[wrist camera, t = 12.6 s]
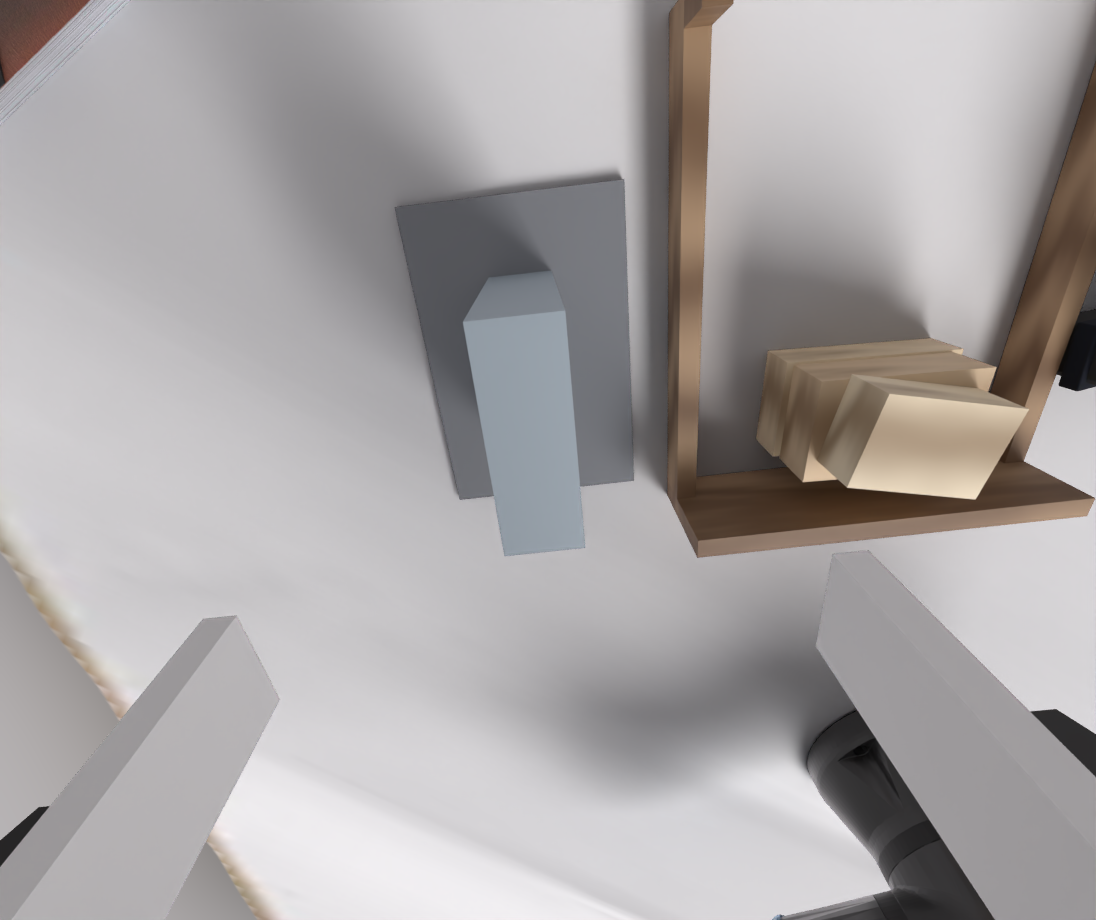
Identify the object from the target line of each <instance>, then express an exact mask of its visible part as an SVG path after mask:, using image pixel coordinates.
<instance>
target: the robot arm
mask: <svg viewBox="0 0 1096 920" xmlns="http://www.w3.org/2000/svg"><path fill="white" fill-rule="evenodd" d="M816 648H817V649H818V651H819V652H820V654H821V655H822V657H823V658H824V660H825V661H826V663H827V665H828V666H829V668H830V669H831V671H832V672H833V674H834V675H835V677H836V678H837V680H838V681H839V683H840V684H841V686H842V687H843V689H844V690H845V692H846V693H847V695H848V697H849V698H850V700H851V701H852V703H853V704H854V706H855V707H856V709H857V710H858V711H856V712H854V713H852V714H850V715H848V716H846V717H844V718H842V719H841V720H839V721H838V722H836V723H835V724H833V725H832V726H831V727H829V728H828V729H827V730H826V731H825V732H824V733H823V734H822V735H821V736H820V737H819V738H818V739H817V740H816V742H815V743H814V745H813V746H812V748H811V750H810V752H809V755H808V760H807V766H808V771H809V773H810V775H811V777H812V779H813V781H814V783H815V785H816V787H817V789H818V791H819V793H820V795H821V796H822V798H823V799H824V801H825V802H826V803H827V804H828V805H829V806H830V808H831V809H832V810H833V811H834V812H835V813H836V815H837V816H838V817H839V818H840V819H841V820H842V821H843V823H844V824H845V825H846V826H847V827H848V828H849V829H850V831H851V832H852V833H853V834H854V835H855V836H856V838H857V839H858V840H859V841H860V842H861V843H862V844H863V846H864V847H865V848H866V849H867V850H868V851H869V852H870V854H871V855H872V856H873V858H874V859H875V861H876V862H877V864H878V866H879V868H880V870H881V872H882V874H883V875H884V877H885V879H886V881H887V883H888V885H889V887H890V889H891V890H890V891H887V892H883V893H879V894H875V895H870V896H866V897H862V898H858V899H854V900H850V901H846V902H842V903H839V904H835V905H831V906H827V907H822V908H818V909H814V910H809V911H805V912H801V913H796V914H792V915H788V916H784V915H777V916H775V917H774V918H773V919H772V920H1096V734H1095V733H1093V732H1091V731H1090V730H1088V729H1087V728H1085V727H1083V726H1082V725H1080V724H1079V723H1077V722H1076V721H1074V720H1072V719H1071V718H1069V717H1068V716H1066V715H1064V714H1063V713H1061V712H1060V711H1058V710H1057V709H1053V710H1042V711H1032V712H1030V711H1029V710H1028V709H1027V708H1026V707H1025V706H1024V705H1023V704H1022V703H1021V702H1020V701H1019V700H1018V699H1017V698H1016V697H1015V696H1014V695H1013V694H1012V693H1011V692H1010V691H1009V690H1008V689H1007V688H1006V687H1005V686H1004V685H1003V684H1002V683H1001V682H1000V681H999V680H998V679H997V678H996V677H995V676H994V675H993V674H992V673H991V672H990V671H989V670H988V669H987V668H986V667H985V666H984V665H983V664H982V663H981V662H980V661H979V660H978V659H977V658H976V657H975V656H974V655H973V654H972V653H971V652H970V651H969V650H968V649H967V648H966V647H965V646H964V645H963V644H962V643H961V642H960V641H959V640H958V639H957V638H956V637H955V636H954V635H953V634H952V633H951V632H950V631H949V630H948V629H947V628H946V627H945V626H944V625H943V624H942V623H941V622H940V621H939V620H938V619H937V618H936V617H935V616H934V615H933V614H932V613H931V612H930V611H929V610H928V609H927V608H926V607H925V606H924V605H923V604H922V603H921V602H920V601H919V600H918V599H917V598H916V597H915V596H914V595H913V594H912V593H911V592H910V591H909V590H908V589H907V588H906V587H905V586H904V585H903V584H902V583H901V582H900V581H899V580H898V579H897V578H896V577H895V576H894V575H893V574H892V573H891V572H890V571H889V570H888V569H887V568H886V567H885V566H884V565H883V564H882V563H881V562H880V561H879V560H878V559H877V558H876V557H875V556H874V555H873V554H872V553H871V552H870V551H869V550H867V551H858V552H848V553H838V554H833V555H832V560H831V566H830V571H829V576H828V582H827V587H826V593H825V598H824V603H823V609H822V614H821V620H820V625H819V631H818V636H817V641H816ZM279 700H280V698H279V696H278V694H277V693H276V691H275V689H274V687H273V685H272V683H271V681H270V679H269V677H268V675H267V673H266V671H265V669H264V667H263V665H262V663H261V662H260V660H259V658H258V656H257V654H256V652H255V650H254V648H253V646H252V644H251V642H250V640H249V638H248V636H247V634H246V632H245V631H244V629H243V627H242V625H241V623H240V621H239V619H238V617H237V616H227V617H218V618H208V619H203V620H202V621H201V622H200V623H199V625H198V626H197V627H196V628H195V629H194V631H193V632H192V633H191V634H190V636H189V637H188V638H187V639H186V640H185V642H184V643H183V644H182V645H181V647H180V648H179V649H178V650H177V651H176V653H175V654H174V655H173V656H172V658H171V659H170V660H169V661H168V662H167V664H166V665H165V666H164V667H163V669H162V670H161V671H160V672H159V673H158V675H157V676H156V677H155V678H154V680H153V681H152V682H151V683H150V684H149V686H148V687H147V688H146V689H145V691H144V692H143V693H142V694H141V695H140V697H139V698H138V699H137V700H136V702H135V703H134V704H133V705H132V706H131V708H130V709H129V710H128V711H127V713H126V714H125V715H124V716H123V717H122V719H121V720H120V721H119V722H118V724H117V725H116V726H115V727H114V728H113V730H112V731H111V732H110V733H109V735H108V736H107V737H106V738H105V740H104V741H103V742H102V743H101V744H100V746H99V747H98V748H97V749H96V751H95V752H94V753H93V754H92V755H91V757H90V758H89V759H88V760H87V761H86V763H85V764H84V765H83V766H82V768H81V769H80V770H79V771H78V772H77V774H76V775H75V776H74V777H73V779H72V780H71V781H70V782H69V783H68V785H67V786H66V787H65V788H64V790H63V791H62V792H61V793H60V795H59V796H58V797H57V798H56V799H55V801H54V802H53V803H52V804H51V806H47V807H39V808H37V809H36V810H35V811H34V812H33V813H32V814H30V815H29V816H28V817H27V818H26V819H25V820H23V821H22V822H21V823H20V824H19V825H18V826H16V827H15V828H14V829H13V830H12V831H11V832H10V833H9V834H7V835H6V836H5V837H4V838H3V839H1V840H0V920H165V918H166V916H167V915H168V913H169V911H170V908H171V907H172V905H173V903H174V901H175V899H176V897H177V895H178V894H179V892H180V890H181V888H182V886H183V884H184V882H185V880H186V878H187V876H188V874H189V872H190V871H191V869H192V867H193V865H194V863H195V861H196V859H197V857H198V855H199V853H200V851H201V850H202V848H203V846H204V844H205V842H206V840H207V838H208V836H209V834H210V832H211V830H212V828H213V827H214V825H215V823H216V821H217V819H218V817H219V815H220V813H221V811H222V809H223V807H224V806H225V804H226V802H227V800H228V798H229V796H230V794H231V792H232V790H233V788H234V786H235V785H236V783H237V781H238V779H239V777H240V775H241V773H242V771H243V769H244V767H245V765H246V763H247V762H248V760H249V758H250V756H251V754H252V752H253V750H254V748H255V746H256V744H257V742H258V741H259V739H260V737H261V735H262V733H263V731H264V729H265V727H266V725H267V723H268V721H269V719H270V718H271V716H272V714H273V712H274V710H275V708H276V706H277V704H278V702H279Z"/></svg>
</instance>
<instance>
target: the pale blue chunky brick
mask: <svg viewBox="0 0 1096 920" xmlns="http://www.w3.org/2000/svg"><path fill="white" fill-rule="evenodd" d="M463 326H464V332H465V337H466V343H467V348H468V354H469V360H470V365H471V371H472V376H473V382H474V388H475V393H476V399H477V404H478V410H479V416H480V421H481V427H482V432H483V438H484V444H485V449H486V455H487V460H488V466H489V472H490V477H491V483H492V488H493V494H494V499H495V505H496V511H497V516H498V522H499V527H500V533H501V539H502V544H503V550H504V555H505V556H511V555H521V554H530V553H540V552H550V551H559V550H569V549H579V548H585V538H584V526H583V515H582V503H581V491H580V479H579V467H578V455H577V443H576V432H575V420H574V408H573V396H572V384H571V372H570V360H569V349H568V337H567V325H566V313H565V308H564V305H563V303H562V300H561V297H560V294H559V291H558V288H557V285H556V283H555V280H554V277H553V274H552V271H542V272H533V273H524V274H515V275H506V276H498V277H489V278H488V280H487V281H486V283H485V285H484V286H483V288H482V290H481V292H480V293H479V295H478V297H477V298H476V300H475V302H474V304H473V305H472V307H471V309H470V310H469V312H468V314H467V316H466V317H465V319H464V321H463Z"/></svg>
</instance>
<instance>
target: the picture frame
mask: <svg viewBox="0 0 1096 920" xmlns="http://www.w3.org/2000/svg"><path fill="white" fill-rule="evenodd" d="M129 1H130V0H0V125H1V124H2V123H3V122H4V121H5V120H6V119H7V118H8V117H10V116H11V115H12V114H13V113H14V112H15V111H16V110H17V109H18V108H19V107H20V106H21V105H22V104H23V103H24V102H25V101H26V100H27V99H28V98H29V97H30V96H31V95H32V94H33V93H34V92H36V91H37V90H38V89H39V88H40V87H41V86H42V85H43V84H44V83H45V82H46V81H47V80H48V79H49V78H50V77H51V76H52V75H53V74H54V73H55V72H56V71H57V70H58V69H59V68H60V67H62V66H63V65H64V64H65V63H66V62H67V61H68V60H69V59H70V58H71V57H72V56H73V55H74V54H75V53H76V52H77V51H78V50H79V49H80V48H81V47H82V46H83V45H84V44H85V43H86V42H88V41H89V40H90V39H91V38H92V37H93V36H94V35H95V34H96V33H97V32H98V31H99V30H100V29H101V28H102V27H103V26H104V25H105V24H106V23H107V22H108V21H109V20H110V19H111V18H112V17H114V16H115V15H116V14H117V13H118V12H119V11H120V10H121V9H122V8H123V7H124V6H125V5H126V4H127V3H128V2H129Z"/></svg>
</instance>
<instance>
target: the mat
mask: <svg viewBox="0 0 1096 920" xmlns="http://www.w3.org/2000/svg"><path fill="white" fill-rule="evenodd" d="M395 211H396V215H397V220H398V224H399V229H400V233H401V238H402V242H403V247H404V251H405V256H406V260H407V265H408V269H409V274H410V278H411V283H412V287H413V292H414V296H415V301H416V305H417V310H418V314H419V319H420V323H421V328H422V332H423V337H424V341H425V346H426V350H427V355H428V359H429V364H430V368H431V373H432V377H433V382H434V386H435V391H436V395H437V400H438V404H439V409H440V413H441V418H442V422H443V427H444V431H445V436H446V440H447V445H448V449H449V454H450V458H451V463H452V467H453V472H454V476H455V481H456V485H457V490H458V494H459V499H460V500H462V499H471V498H481V497H490V496H494V494H493V488H492V483H491V477H490V472H489V466H488V460H487V455H486V449H485V444H484V438H483V432H482V427H481V421H480V416H479V410H478V404H477V399H476V393H475V388H474V382H473V376H472V371H471V365H470V360H469V354H468V348H467V343H466V337H465V332H464V326H463V321H464V319H465V317H466V316H467V314H468V312H469V310H470V309H471V307H472V305H473V304H474V302H475V300H476V298H477V297H478V295H479V293H480V292H481V290H482V288H483V286H484V285H485V283H486V281H487V280H488V278H489V277H498V276H506V275H515V274H524V273H533V272H542V271H552V274H553V277H554V280H555V283H556V285H557V288H558V291H559V294H560V297H561V300H562V303H563V305H564V308H565V313H566V325H567V337H568V349H569V360H570V372H571V384H572V396H573V408H574V420H575V432H576V443H577V455H578V467H579V479H580V486H590V485H599V484H608V483H617V482H626V481H634V470H633V439H632V407H631V376H630V345H629V314H628V282H627V251H626V220H625V189H624V179H622V180H614V181H606V182H597V183H589V184H581V185H573V186H565V187H556V188H548V189H540V190H532V191H523V192H515V193H507V194H499V195H491V196H482V197H474V198H466V199H458V200H449V201H441V202H433V203H425V204H417V205H408V206H400V207H395Z"/></svg>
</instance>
